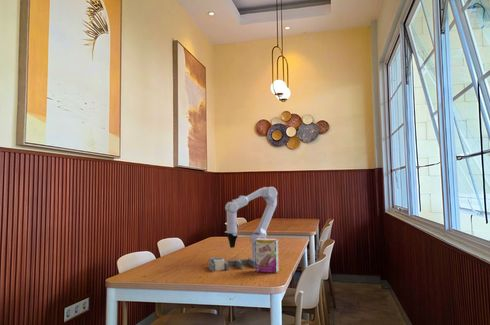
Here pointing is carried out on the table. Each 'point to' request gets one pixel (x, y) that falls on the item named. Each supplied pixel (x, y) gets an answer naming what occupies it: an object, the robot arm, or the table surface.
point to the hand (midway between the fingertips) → (232, 247)
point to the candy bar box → (266, 255)
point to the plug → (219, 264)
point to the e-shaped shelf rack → (232, 263)
